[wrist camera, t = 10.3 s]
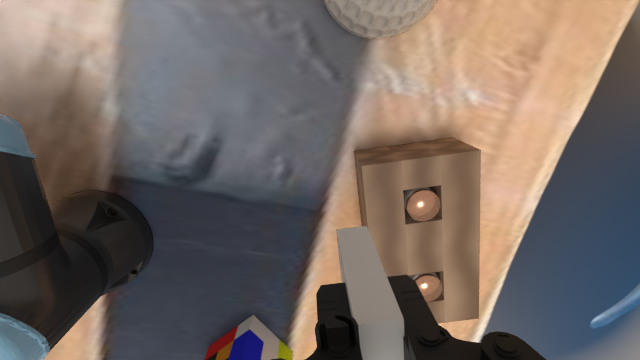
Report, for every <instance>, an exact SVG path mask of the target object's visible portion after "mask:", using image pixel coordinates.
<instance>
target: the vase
mask: <svg viewBox="0 0 640 360" xmlns="http://www.w3.org/2000/svg"><path fill="white" fill-rule="evenodd" d="M323 1H324V3H325V5H326V7H327V9H328V11H329V13H330V14H331V16H332V17H333V18H334V20H335V21H336V22H337V23H338V24H339V25H340V26H341V27H343V28H344V29H345V30H347V31H348V32H350V33H352V34H354V35H356V36H359V37H362V38H368V39H385V38H391V37H394V36H397V35H399V34H402V33H404V32H406V31H407V30H409V29H411V28H413V27H414V26H415V25H417V24H418V23H419V22H421V21H422V20H423V19H424V18H425V17H426V15H427V14H428V13H429V12H430V11H431V10H432V9H433V7H434V6H435V4H436V3H437V2H438V0H323Z"/></svg>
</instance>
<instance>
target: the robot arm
mask: <svg viewBox="0 0 640 360" xmlns="http://www.w3.org/2000/svg"><path fill="white" fill-rule="evenodd" d="M34 159H36V155H35V154H34V153H32V151H31V149H30V146H29V144H28V141H27V138H26V136H25V133H24V130H23V128H22V127H21V125H20V124H19V123H18V122H17V121H16V120H14V119H13V118H11V117H9V116H6V115H3V114H0V360H42V359H44V358H45V356H46V355H47V354H48V352H49V351H50V350H51V349H52V348H53V347H54V346H55V345H56V344H57V343H58V342H59V341H60V339H61V338H62V337H63V336H64V335H65V334H66V333H67V332H68V331H69V330H70V329H71V328H72V327H73V325H74V324H75V323H76V322H77V321H78V320H79V319H80V318H81V317H82V316H83V315H84V314H85V312H86V311H87V310H88V309H89V308H90V307H91V306H92V305H93V304H94V303H95V302H96V301H97V300H98V298H99V297H100V296H102V295H104V294H106V293H109V292H111V291H113V290H115V289H117V288H119V287H121V286H123V285H125V284H127V283H128V282H130V281H131V280H133V279H134V278H135V277H136V276H137V275H138V274H139V273H140V272H141V271H142V270H143V268H144V267H145V266H146V265H147V263H148V262H149V260H150V257H151V254H152V250H153V239H152V234H151V231H150V228H149V226H148V224H147V222H146V220H145V219H144V217H143V216H142V215H141V213H140V212H139V211H138V210H137V209H136V208H135V207H134V206H132V205H131V204H130V203H128V202H127V201H125V200H124V199H122V198H120V197H118V196H116V195H113V194H110V193H106V192H102V191H82V192H78V193H74V194H72V195H70V196H68V197H66V198H64V199H62V200H60V201H58V202H56V203H55V204H54V205H52V206H51V207H49V204H48V201H47V198H46V195H45V192H44V189H43V185H42V182H41V179H40V176H39V173H38V170H37V167H36V163H35V160H34ZM336 231H337V241H338V251H339V260H340V270H341V279H342V283H337V284H328V285H321V286H320V288H319V290H318V292H317V316H318V322H317V324H316V327H315V335H316V342H317V348H316V350H315V351H314V353H313V354H312V355H311V356H310V357H308V358H307V359H305V360H546V359H545V358H543V357H542V356H541V355H540V354H539V353H538V352H536V351H535V350H534V349H533V348H532V347H531V346H529V345H528V344H527V343H526V342H525V341H523V340H522V339H520V338H518V337H517V336H514V335H512V334H509V333H505V332H491V333H488V334H486V335H485V336H484V337H483V339H482V341H481V343H476V342H469V341H463V340H459V339H456V338H454V337H452V336H451V335H450V333H449V332H448V331H447V330H446V329H444V328H443V327H441V326H439V325H438V323H437V321H436V320H435V318H434V316H433V314H432V312H431V310H430V308H429V306H428V304H427V302H426V301H425V299H424V297H423V295H422V293H421V292H420V289H419V287H418V285H417V283H416V282H415V281H414V280H413V279H412V278H410V277H409V276H408V275H398V276H390V277H387V276H386V273H385V271H384V268H383V266H382V263H381V261H380V258H379V256H378V253H377V251H376V248H375V246H374V243H373V241H372V238H371V236H370V233H369V231H368V228H367V226H362V227H354V228H345V229H336ZM271 360H285V359H282V358H277V359H271Z"/></svg>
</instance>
